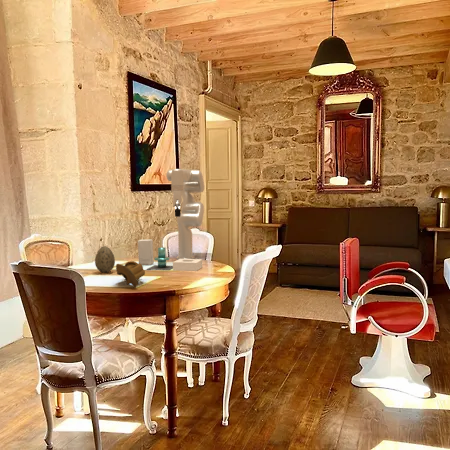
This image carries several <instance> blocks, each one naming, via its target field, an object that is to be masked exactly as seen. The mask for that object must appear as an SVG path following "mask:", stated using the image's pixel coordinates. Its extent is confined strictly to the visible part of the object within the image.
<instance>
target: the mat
mask: <svg viewBox="0 0 450 450" xmlns="http://www.w3.org/2000/svg"><path fill="white" fill-rule="evenodd" d="M153 270H154V271H171V270H173V265H166V268H158V264H157V265H156V264H155V265H151V266H150V267H148V268H146V271H153Z"/></svg>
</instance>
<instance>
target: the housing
mask: <svg viewBox="0 0 450 450" xmlns="http://www.w3.org/2000/svg"><path fill="white" fill-rule="evenodd" d="M172 266H173V269H172V271H179V272H180V271H182V272H198V271H199V270H200V269H202V268H203V258H202V259H201V258H200V259H199V258H194V259H176V260H175V261H173V262H172Z"/></svg>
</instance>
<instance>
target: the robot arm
mask: <svg viewBox="0 0 450 450" xmlns="http://www.w3.org/2000/svg"><path fill="white" fill-rule="evenodd" d="M166 180H167V181H168V182H170V184H171V185H170V187H171V189H170V190H171V192H172V207H174V209H175V210H174V217H175V218H176V224H177V233H178V237H177V238H178V239H177V240H178V243H177V244H178V248H177V249H178V250H177V251H178V255H177V256H176V258H175V259H176V260H178V259H196V257H195V255H193V232H192V230H191V229H190V227H193V228H194V227H201V226H202V224H203V219H204V213H205V206H204V203H202V202H201V201H196V199H195V197H194V196H193V195H192V194H193V193H194V194H198V193H199V194H200V193H203V192H204V190H205V181H204V177H203V173H202V171H201V170H200V169H185V168H184V169H182V168H173V169H168V170H167V171H166ZM191 193H192V194H191Z"/></svg>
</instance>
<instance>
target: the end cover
mask: <svg viewBox="0 0 450 450" xmlns="http://www.w3.org/2000/svg"><path fill="white" fill-rule="evenodd" d="M166 252H167V251H166V247H165V246H164V247H157V256H156V257H153V261H157V265H158V268H166V266H167V261H169V260H170V259H171V258H170V256H169V257H168V256H166V254H167V253H166Z"/></svg>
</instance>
